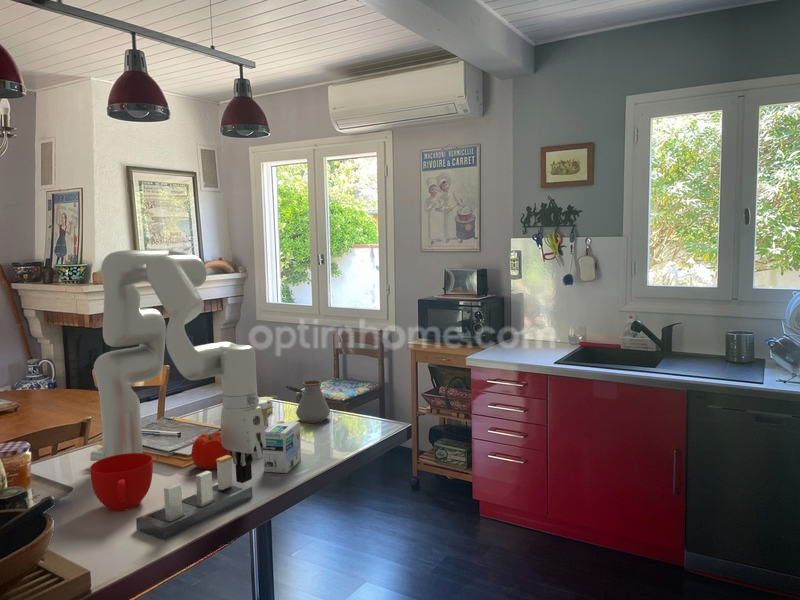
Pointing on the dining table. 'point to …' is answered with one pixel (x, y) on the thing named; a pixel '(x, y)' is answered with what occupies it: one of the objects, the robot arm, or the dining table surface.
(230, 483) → the handle
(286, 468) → the light bulb box
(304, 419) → the coffee pot
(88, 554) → the dining table surface
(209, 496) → the breaker panel
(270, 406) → the stacked layers on plate
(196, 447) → the tomato
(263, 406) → the sprinkles bottle
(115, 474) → the ceramic cup
